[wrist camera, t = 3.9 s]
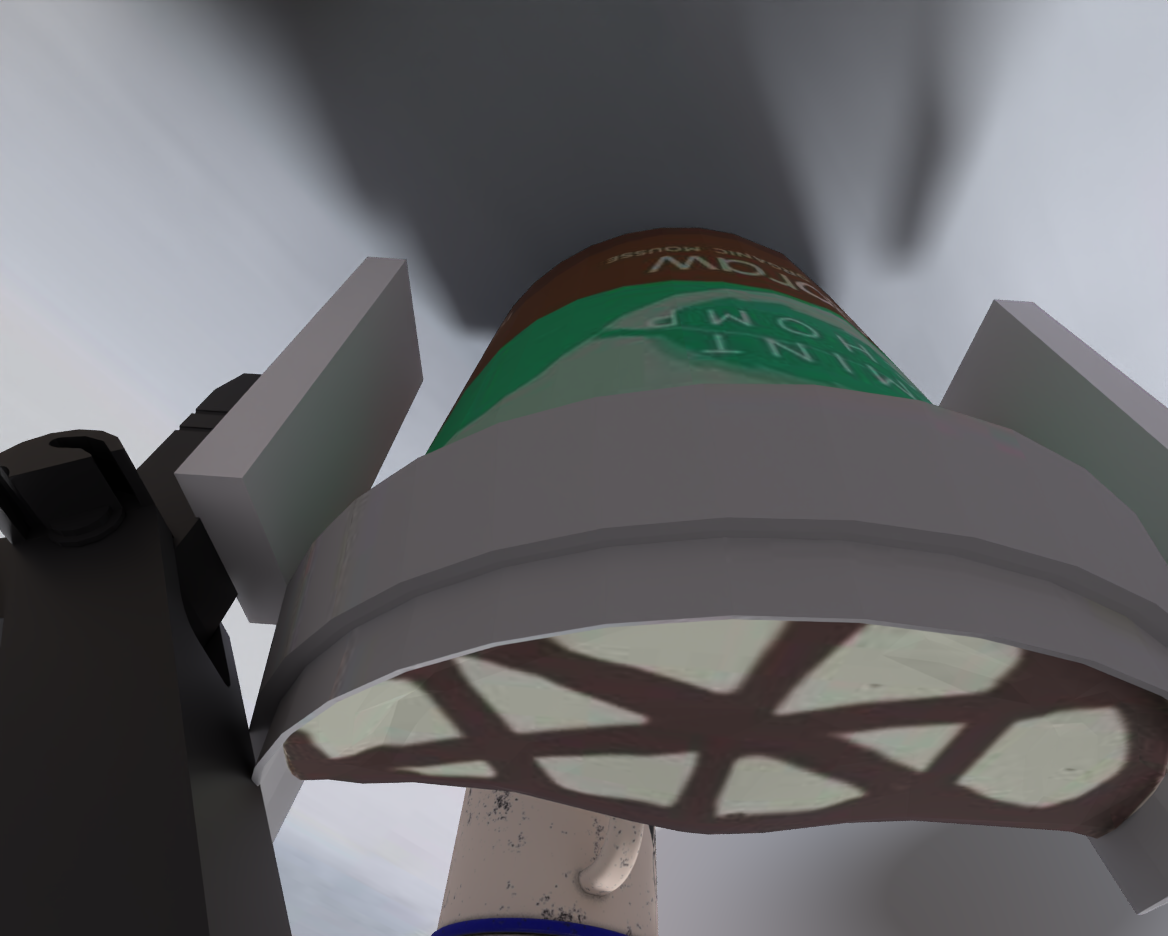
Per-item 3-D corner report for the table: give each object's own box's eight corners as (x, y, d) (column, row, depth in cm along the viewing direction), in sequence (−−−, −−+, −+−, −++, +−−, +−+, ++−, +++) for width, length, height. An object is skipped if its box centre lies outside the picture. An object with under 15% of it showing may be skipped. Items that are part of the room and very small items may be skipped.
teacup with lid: (609, 796, 33) (600, 1101, 24) (452, 756, 31) (378, 1072, 22) (727, 697, 26) (777, 1079, 17) (531, 637, 24) (470, 1032, 15)
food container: (1030, 190, 11) (1887, 637, 4) (900, 445, 15) (1184, 919, 8) (386, 137, 11) (-108, 481, 4) (421, 407, 15) (220, 848, 8)
